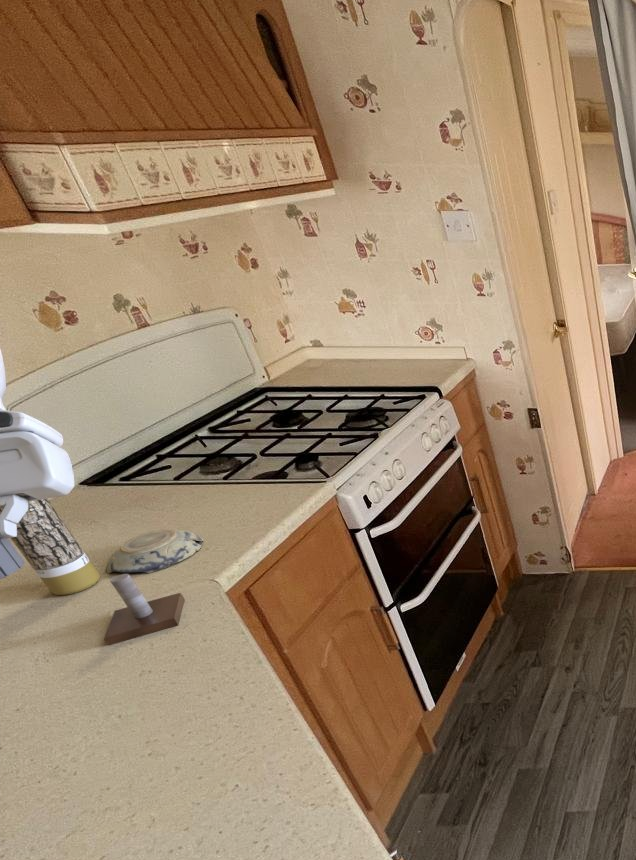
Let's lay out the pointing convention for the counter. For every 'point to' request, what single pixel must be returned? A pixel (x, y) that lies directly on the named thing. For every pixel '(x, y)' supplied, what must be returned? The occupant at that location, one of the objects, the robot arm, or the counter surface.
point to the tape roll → (9, 558)
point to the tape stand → (141, 612)
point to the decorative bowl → (153, 551)
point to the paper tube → (53, 550)
